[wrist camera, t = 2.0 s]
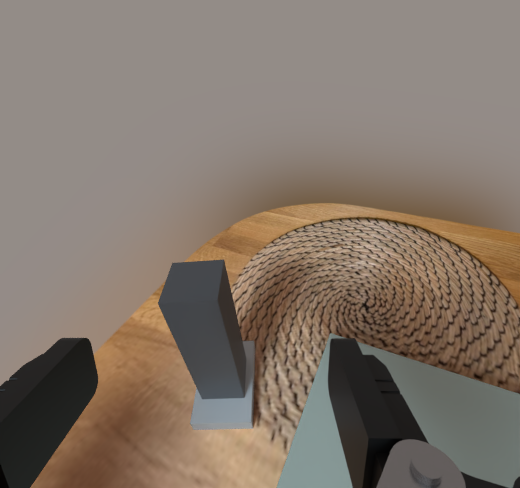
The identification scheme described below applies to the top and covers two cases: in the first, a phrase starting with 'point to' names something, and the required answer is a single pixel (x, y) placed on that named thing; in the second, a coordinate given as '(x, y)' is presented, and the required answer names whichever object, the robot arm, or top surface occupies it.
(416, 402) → the board
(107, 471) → the top surface
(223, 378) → the grey pillar on base
